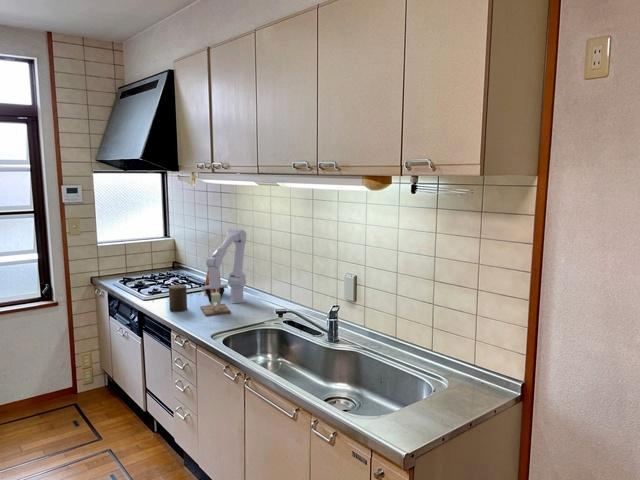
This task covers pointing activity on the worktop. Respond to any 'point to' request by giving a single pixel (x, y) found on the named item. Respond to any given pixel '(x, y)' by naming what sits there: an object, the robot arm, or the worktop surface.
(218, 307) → the cleat board
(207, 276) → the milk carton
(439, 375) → the worktop surface
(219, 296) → the saddle block
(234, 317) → the worktop surface
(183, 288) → the pillar candle
